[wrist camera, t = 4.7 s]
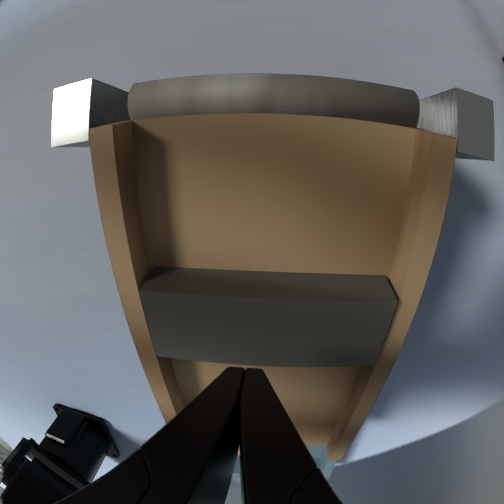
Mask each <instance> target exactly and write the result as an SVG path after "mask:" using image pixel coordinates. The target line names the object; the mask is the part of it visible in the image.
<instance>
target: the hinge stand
mask: <svg viewBox="0 0 504 504" xmlns="http://www.w3.org/2000/svg"><path fill="white" fill-rule="evenodd" d="M128 94H129V92H126V91H124V90H121V89H119V88H116V87H114V86H111V85H108V84H106V83H103V82H100V81H98V80H95V79H92V78H91V79H87V80H84V81H80V82H76V83H73V84H69V85H66V86H63V87H60V88H56V89H54V98H53V111H52V133H51V147H90V139H89V129H90V128H94V127H98V126H102V125H106V124H111V123H115V122H119V121H124V120H131V119H130V116H129V112H128ZM419 104H420V116H419V121H418V124H417V127H416V128H420V129H425V130H428V131H432V132H435V133H438V134H442V135H445V136H448V137H451V138H454V139H457V148H456V155H455V158H459V159H476V160H490V161H494V111H493V101H492V100H490V99H487V98H485V97H482V96H479V95H476V94H474V93H471V92H468V91H465V90H462V89H459V88H453V89H450V90H447V91H444V92H441V93H439V94H436V95H433V96H430V97H427V98H425V99H422V100H419Z"/></svg>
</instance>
